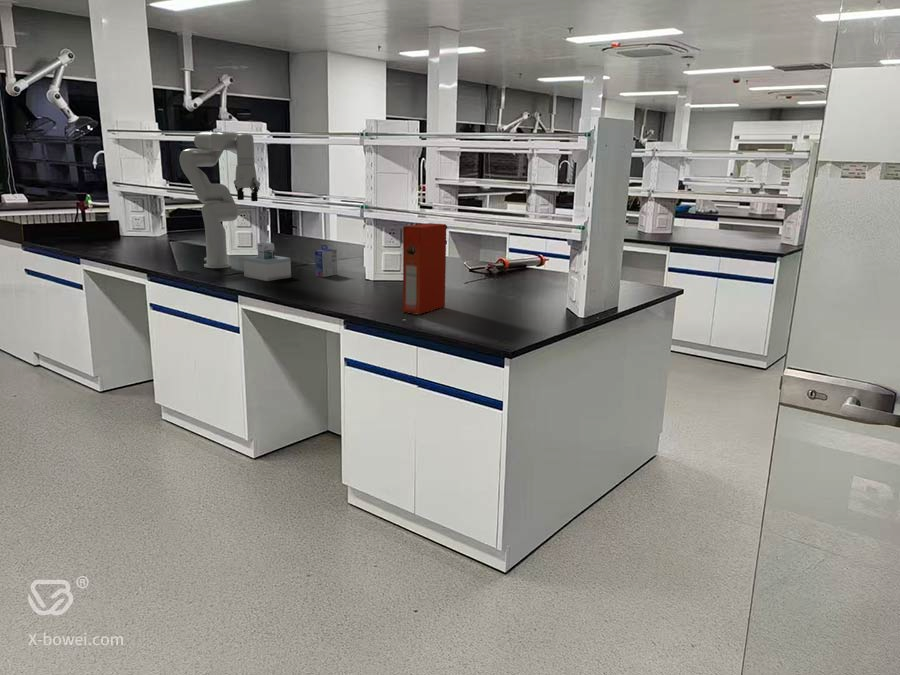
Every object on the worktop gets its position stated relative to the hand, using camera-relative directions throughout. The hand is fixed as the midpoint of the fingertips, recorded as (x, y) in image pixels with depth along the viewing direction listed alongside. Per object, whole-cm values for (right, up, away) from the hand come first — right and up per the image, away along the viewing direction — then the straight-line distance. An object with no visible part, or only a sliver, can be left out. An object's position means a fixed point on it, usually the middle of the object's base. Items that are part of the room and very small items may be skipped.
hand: (247, 200), depth 315 cm
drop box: (+9, -35, +2) cm, 36 cm away
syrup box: (+8, -34, +2) cm, 35 cm away
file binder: (+84, -53, -55) cm, 113 cm away
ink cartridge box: (+35, -34, +11) cm, 50 cm away
